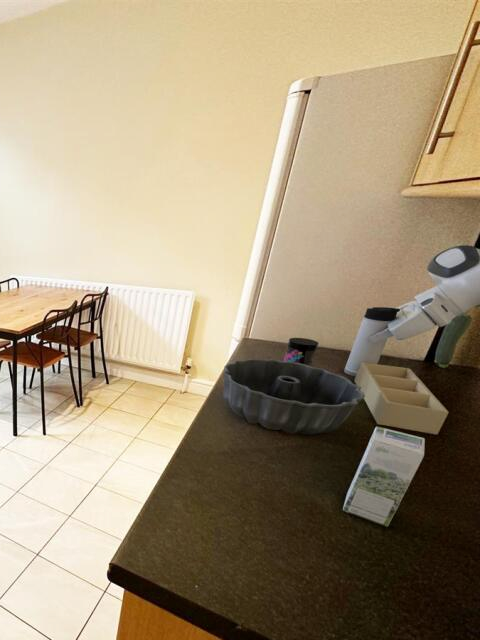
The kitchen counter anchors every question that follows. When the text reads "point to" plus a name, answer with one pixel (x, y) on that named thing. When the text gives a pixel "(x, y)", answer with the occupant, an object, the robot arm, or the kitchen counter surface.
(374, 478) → the syrup box
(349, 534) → the kitchen counter surface
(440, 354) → the vegetable
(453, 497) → the kitchen counter surface
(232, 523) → the kitchen counter surface
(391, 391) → the organiser
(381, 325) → the travel mug
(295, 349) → the supplement container
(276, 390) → the bundt pan
